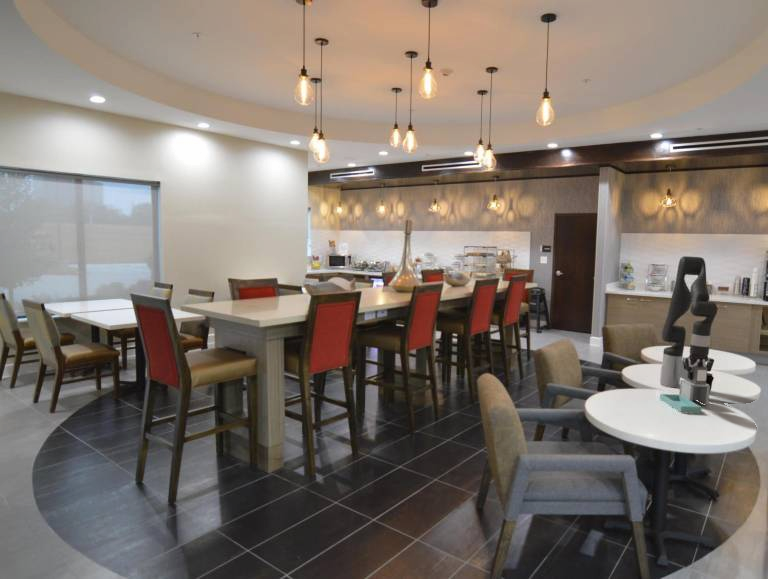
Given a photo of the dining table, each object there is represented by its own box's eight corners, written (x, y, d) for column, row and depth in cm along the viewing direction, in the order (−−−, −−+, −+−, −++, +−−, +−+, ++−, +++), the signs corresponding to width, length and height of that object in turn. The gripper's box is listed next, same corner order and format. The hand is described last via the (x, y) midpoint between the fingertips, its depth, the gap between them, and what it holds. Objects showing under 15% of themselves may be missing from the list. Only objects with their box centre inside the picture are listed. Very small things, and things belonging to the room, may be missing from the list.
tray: (659, 399, 254) (660, 393, 253) (678, 400, 254) (679, 394, 253) (680, 412, 236) (681, 406, 235) (700, 413, 236) (701, 406, 235)
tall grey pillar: (678, 376, 248) (680, 360, 247) (688, 376, 248) (690, 360, 247) (695, 384, 235) (697, 368, 234) (706, 385, 235) (708, 368, 234)
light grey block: (678, 399, 255) (680, 379, 254) (697, 400, 255) (699, 380, 254) (688, 405, 247) (691, 384, 246) (707, 406, 247) (710, 385, 246)
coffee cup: (710, 402, 253) (713, 376, 251) (691, 398, 258) (693, 373, 256) (712, 398, 260) (714, 373, 258) (693, 394, 265) (695, 370, 263)
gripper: (709, 342, 240) (706, 377, 242) (679, 341, 240) (676, 377, 242) (720, 346, 233) (716, 382, 235) (689, 345, 232) (685, 381, 234)
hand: (696, 379), depth 238 cm, fingers closed on tall grey pillar, 5 cm apart
